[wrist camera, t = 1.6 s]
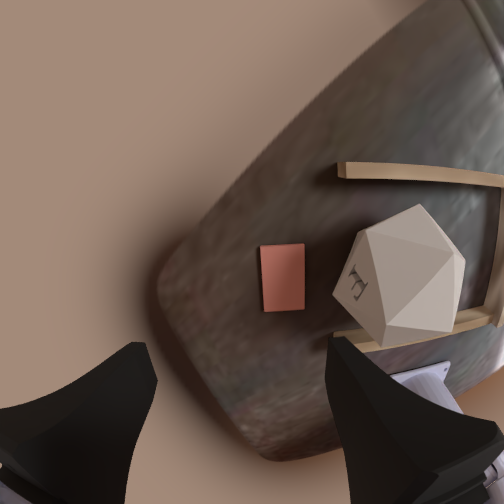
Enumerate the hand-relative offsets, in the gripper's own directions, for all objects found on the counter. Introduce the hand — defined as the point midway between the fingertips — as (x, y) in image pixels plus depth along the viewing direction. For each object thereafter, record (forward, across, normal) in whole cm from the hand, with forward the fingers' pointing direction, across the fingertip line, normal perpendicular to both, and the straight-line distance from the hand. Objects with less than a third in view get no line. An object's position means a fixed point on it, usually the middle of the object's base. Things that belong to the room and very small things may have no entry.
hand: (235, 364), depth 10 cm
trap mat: (+10, -2, +1) cm, 11 cm away
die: (+11, -10, 0) cm, 15 cm away
